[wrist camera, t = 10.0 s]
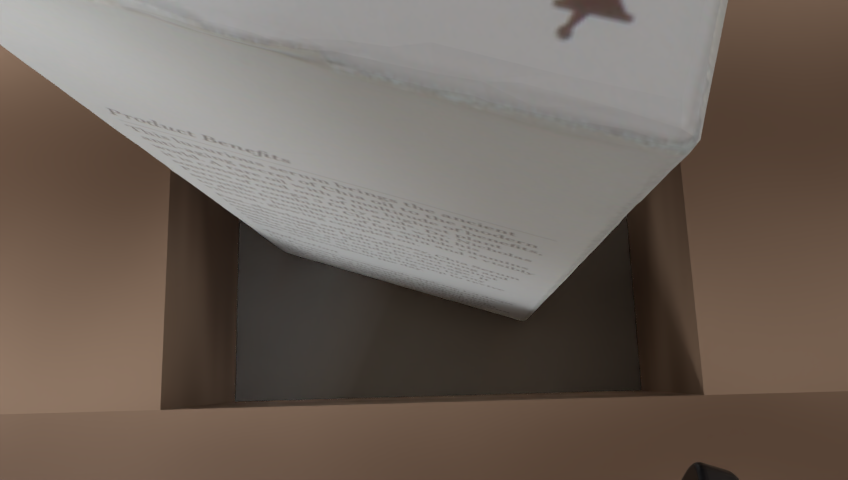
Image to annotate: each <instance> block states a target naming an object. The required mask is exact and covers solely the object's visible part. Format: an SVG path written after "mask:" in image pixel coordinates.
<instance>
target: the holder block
mask: <svg viewBox="0 0 848 480" xmlns="http://www.w3.org/2000/svg"><path fill="white" fill-rule="evenodd" d="M627 224H628V236H629V248H630V259H631V271H632V283H633V294H634V306H635V317H636V329H637V341H638V352H639V364H640V375H641V387H642V390H633V391H598V392H562V393H526V394H490V395H454V396H418V397H382V398H346V399H310V400H274V401H238V402H235V384H236V339H237V295H238V251H239V218H238V217H236V216H235V215H233V214H232V213H231V212H229V211H228V210H226V209H225V208H224V207H222V206H221V205H220V204H218V203H217V202H215V201H214V200H213V199H211V198H210V197H209V196H207V195H206V194H204V193H203V192H202V191H200V190H199V189H198V188H196V187H195V186H193V185H192V184H191V183H189V182H188V181H186V180H185V179H184V178H182V177H181V176H179V175H178V174H176V173H175V172H173V171H172V170H171V169H170V168H168V167H167V166H166V165H165V164H163V163H162V162H160V161H159V160H157V159H156V158H155V157H153V156H152V155H151V154H149V153H148V152H147V151H145V150H144V149H143V148H141V147H140V146H138V145H137V144H136V143H134V142H133V141H131V140H130V139H128V138H127V137H126V136H124V135H123V134H121V133H120V132H118V131H117V130H116V129H114V128H113V127H112V126H110V125H109V124H108V123H106V122H105V121H103V120H102V119H101V118H99V117H98V116H97V115H95V114H94V113H93V112H91V111H90V110H89V109H87V108H86V107H85V106H83V105H82V104H80V103H79V102H78V101H76V100H75V99H73V98H72V97H71V96H69V95H68V94H67V93H65V92H64V91H63V90H61V89H60V88H59V87H57V86H56V85H55V84H53V83H52V82H51V81H49V80H48V79H46V78H45V77H44V76H42V75H41V74H39V73H38V72H37V71H35V70H34V69H32V68H31V67H30V66H28V65H27V64H25V63H24V62H23V61H21V60H20V59H19V58H17V57H16V56H15V55H13V54H12V53H11V52H9V51H8V50H7V49H5V48H4V47H3V46H1V45H0V480H681V479H682V478H683V476H684V474H685V473H686V471H687V469H688V468H689V467H690V466H691V465H692V464H693V463H696V462H702V463H706V464H709V465H712V466H715V467H719V468H722V469H725V470H729V471H731V472H732V473H734V474H735V475H736V476H737V477H738V479H739V480H848V0H728V3H727V8H726V13H725V18H724V23H723V28H722V33H721V38H720V43H719V48H718V53H717V58H716V63H715V68H714V73H713V78H712V83H711V88H710V93H709V98H708V103H707V108H706V113H705V118H704V124H703V129H702V134H701V140H700V141H699V142H698V143H697V145H696V146H695V147H694V148H693V150H692V151H691V152H690V153H689V154H688V155H687V156H686V157H685V158H684V159H683V160H682V161H681V162H680V163H679V164H678V165H677V166H676V167H674V168H673V169H672V170H671V171H670V172H669V173H668V174H667V175H666V176H665V177H664V178H663V180H662V181H661V182H660V183H659V184H658V185H657V186H656V187H655V188H654V189H653V190H652V191H651V192H650V193H649V194H648V195H647V196H646V197H645V198H644V199H643V200H642V201H641V202H639V203H638V204H637V205H636V206H635V207H634V208H633V209H632V210H631V211H630V212H629V213H628V214H627Z"/></svg>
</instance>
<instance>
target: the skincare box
mask: <svg viewBox="0 0 848 480" xmlns="http://www.w3.org/2000/svg"><path fill="white" fill-rule="evenodd" d="M727 3H728V0H0V45H1V46H3V47H4V48H5V49H7V50H8V51H9V52H11V53H12V54H13V55H15V56H16V57H17V58H19V59H20V60H21V61H23V62H24V63H25V64H27V65H28V66H30V67H31V68H32V69H34V70H35V71H37V72H38V73H39V74H41V75H42V76H44V77H45V78H46V79H48V80H49V81H51V82H52V83H53V84H55V85H56V86H57V87H59V88H60V89H61V90H63V91H64V92H65V93H67V94H68V95H69V96H71V97H72V98H73V99H75V100H76V101H78V102H79V103H80V104H82V105H83V106H85V107H86V108H87V109H89V110H90V111H91V112H93V113H94V114H95V115H97V116H98V117H99V118H101V119H102V120H103V121H105V122H106V123H108V124H109V125H110V126H112V127H113V128H114V129H116V130H117V131H118V132H120V133H121V134H123V135H124V136H126V137H127V138H128V139H130V140H131V141H133V142H134V143H136V144H137V145H138V146H140V147H141V148H143V149H144V150H145V151H147V152H148V153H149V154H151V155H152V156H153V157H155V158H156V159H157V160H159V161H160V162H162V163H163V164H165V165H166V166H167V167H168V168H170V169H171V170H172V171H173V172H175V173H176V174H178V175H179V176H181V177H182V178H184V179H185V180H186V181H188V182H189V183H191V184H192V185H193V186H195V187H196V188H198V189H199V190H200V191H202V192H203V193H204V194H206V195H207V196H209V197H210V198H211V199H213V200H214V201H215V202H217V203H218V204H220V205H221V206H222V207H224V208H225V209H226V210H228V211H229V212H231V213H232V214H233V215H235V216H236V217H238V218H239V219H241V220H242V221H243V222H244V223H246V224H247V225H248V226H250V227H251V228H253V229H254V230H255V231H256V232H258V233H259V234H260V235H262V236H263V237H265V238H266V239H267V240H269V241H270V242H271V243H273V244H274V245H275V246H277V247H278V248H280V249H281V250H283V251H284V252H286V253H290V254H293V255H296V256H300V257H303V258H306V259H310V260H313V261H317V262H320V263H323V264H327V265H330V266H334V267H337V268H340V269H344V270H347V271H351V272H354V273H358V274H361V275H365V276H368V277H372V278H375V279H378V280H382V281H385V282H389V283H392V284H396V285H399V286H402V287H406V288H409V289H413V290H416V291H420V292H423V293H426V294H430V295H433V296H437V297H440V298H444V299H447V300H451V301H454V302H458V303H461V304H465V305H468V306H472V307H475V308H479V309H482V310H486V311H489V312H493V313H496V314H500V315H503V316H506V317H510V318H513V319H516V320H520V321H525V320H527V319H528V318H529V317H530V316H531V315H532V314H533V313H534V312H535V310H536V309H537V308H538V307H539V306H540V305H541V304H542V303H543V302H544V301H545V300H546V299H547V298H548V297H549V296H550V295H551V294H552V293H553V292H554V291H555V290H556V289H557V288H558V286H560V285H561V284H562V283H563V282H564V281H565V280H566V279H567V278H568V277H569V276H570V274H571V273H572V272H573V271H574V270H575V269H576V268H577V267H578V266H579V265H580V264H581V263H582V262H583V261H584V260H585V259H586V258H587V257H588V255H589V254H590V253H592V252H593V251H594V250H595V249H596V248H597V246H598V245H599V244H600V243H601V242H602V241H603V240H604V239H605V238H606V237H607V236H608V235H609V234H610V232H611V231H612V230H613V229H614V228H615V227H617V226H618V225H619V223H620V222H621V221H622V220H623V218H624V217H625V216H626V215H627V214H628V213H629V212H630V211H631V210H632V209H633V208H634V207H635V206H636V205H637V204H638V203H639V202H641V201H642V200H643V199H644V198H645V197H646V196H647V195H648V194H649V193H650V192H651V191H652V190H653V189H654V188H655V187H656V186H657V185H658V184H659V183H660V182H661V181H662V180H663V178H664V177H665V176H666V175H667V174H668V173H669V172H670V171H671V170H672V169H673V168H674V167H676V166H677V165H678V164H679V163H680V162H681V161H682V160H683V159H684V158H685V157H686V156H687V155H688V154H689V153H690V152H691V151H692V150H693V148H694V147H695V146H696V145H697V143H698V142H699V141H700V140H701V134H702V129H703V124H704V118H705V113H706V108H707V103H708V98H709V93H710V88H711V83H712V78H713V73H714V68H715V63H716V58H717V53H718V48H719V43H720V38H721V33H722V28H723V23H724V18H725V13H726V8H727Z"/></svg>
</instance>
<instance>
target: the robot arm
mask: <svg viewBox="0 0 848 480" xmlns="http://www.w3.org/2000/svg"><path fill="white" fill-rule="evenodd" d="M681 480H739V479H738V477H737V476H736V475H735V474H734V473H732V472H731V471H729V470H725V469H722V468H719V467H715V466H712V465H709V464H706V463H702V462H696V463H693V464H692V465H691V466H690V467H689V468H688V469H687V471H686V473H685V474H684V476H683V478H682V479H681Z"/></svg>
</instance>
